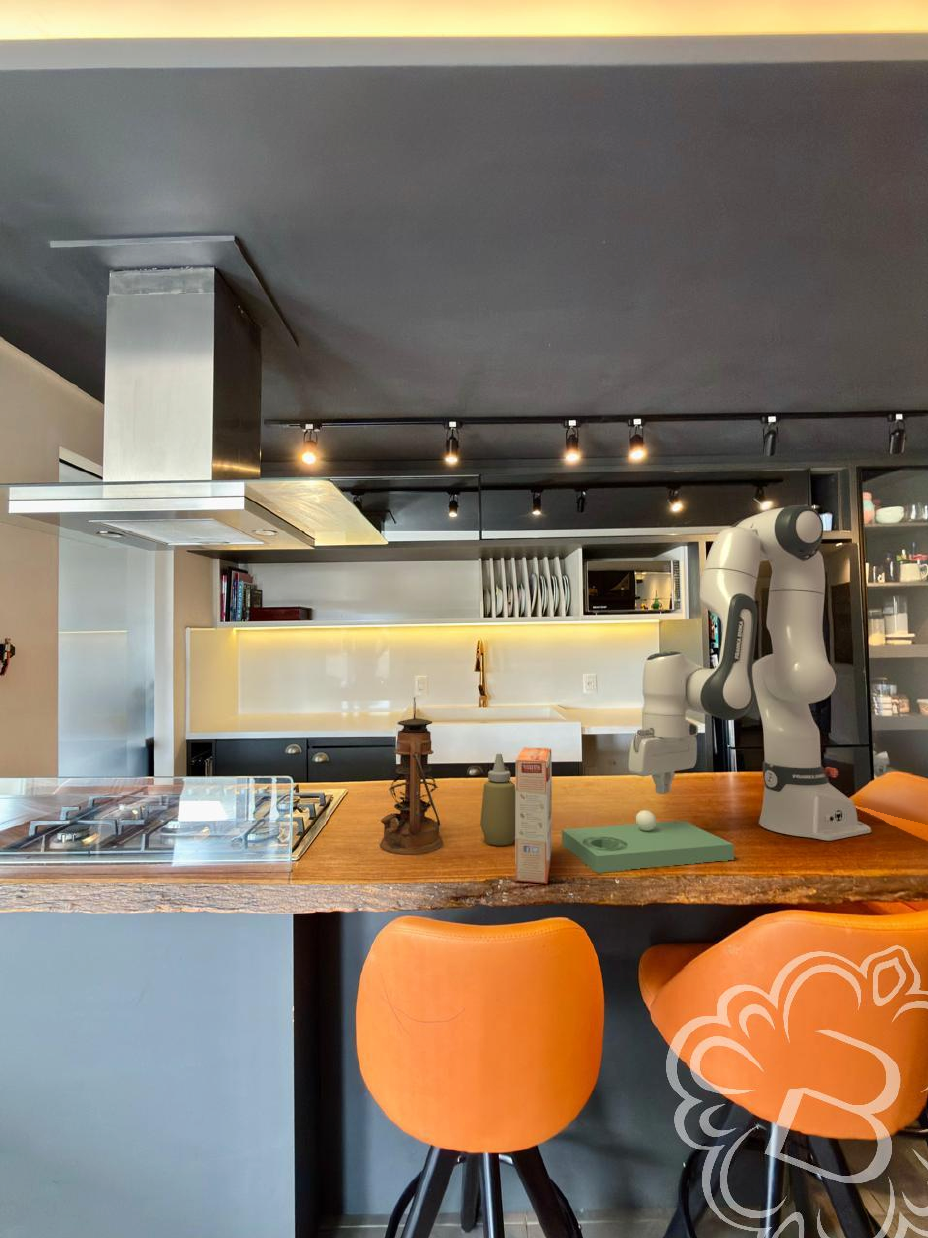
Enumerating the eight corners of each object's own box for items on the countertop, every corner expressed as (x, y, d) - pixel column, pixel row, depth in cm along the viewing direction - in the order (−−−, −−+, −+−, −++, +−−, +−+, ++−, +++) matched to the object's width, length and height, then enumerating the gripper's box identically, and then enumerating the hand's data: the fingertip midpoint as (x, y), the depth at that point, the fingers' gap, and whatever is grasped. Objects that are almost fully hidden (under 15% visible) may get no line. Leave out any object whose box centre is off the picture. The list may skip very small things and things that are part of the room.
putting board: (683, 834, 123) (683, 820, 123) (734, 860, 108) (733, 844, 108) (562, 844, 117) (561, 829, 117) (597, 873, 101) (596, 855, 102)
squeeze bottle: (526, 841, 119) (526, 754, 120) (502, 851, 113) (501, 759, 114) (497, 833, 124) (496, 749, 126) (472, 842, 119) (471, 754, 120)
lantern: (379, 832, 125) (380, 695, 127) (438, 829, 127) (438, 694, 129) (380, 860, 108) (381, 700, 110) (448, 856, 110) (448, 699, 112)
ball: (649, 826, 119) (649, 807, 119) (660, 832, 115) (659, 812, 115) (632, 828, 118) (631, 808, 118) (642, 834, 114) (642, 813, 114)
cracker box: (549, 885, 96) (548, 759, 98) (514, 882, 97) (513, 758, 99) (553, 856, 110) (552, 746, 111) (522, 854, 111) (521, 745, 112)
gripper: (647, 732, 113) (647, 802, 113) (702, 726, 126) (702, 790, 125) (621, 728, 118) (620, 795, 117) (676, 723, 131) (675, 784, 130)
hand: (663, 792), depth 121 cm, fingers closed
